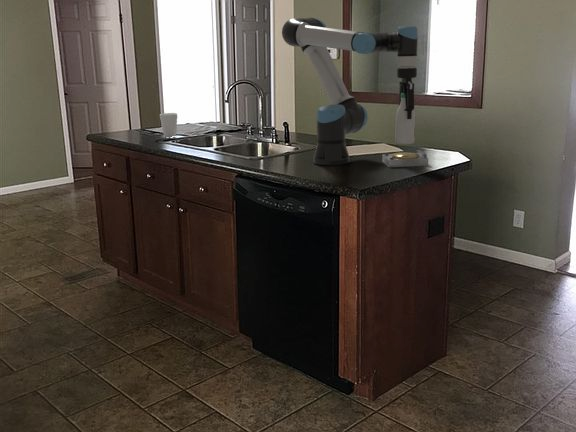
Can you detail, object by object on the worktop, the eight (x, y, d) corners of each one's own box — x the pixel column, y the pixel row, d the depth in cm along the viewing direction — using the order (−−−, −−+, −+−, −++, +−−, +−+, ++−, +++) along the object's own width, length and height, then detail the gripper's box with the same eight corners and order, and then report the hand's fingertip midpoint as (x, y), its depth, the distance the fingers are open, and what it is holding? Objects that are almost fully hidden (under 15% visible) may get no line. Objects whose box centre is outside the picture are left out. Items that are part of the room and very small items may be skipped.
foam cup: (159, 139, 332) (157, 115, 328) (165, 136, 341) (163, 113, 337) (175, 138, 330) (173, 115, 327) (181, 136, 339) (179, 112, 336)
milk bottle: (413, 145, 242) (415, 94, 235) (393, 144, 244) (395, 94, 237) (414, 141, 249) (417, 92, 242) (395, 140, 251) (397, 91, 244)
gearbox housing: (388, 167, 242) (388, 156, 241) (382, 161, 254) (382, 150, 252) (428, 165, 243) (428, 154, 242) (419, 159, 255) (420, 149, 253)
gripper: (423, 68, 228) (422, 128, 234) (409, 66, 248) (408, 122, 254) (404, 68, 228) (402, 129, 234) (391, 66, 247) (390, 123, 254)
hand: (405, 125), depth 244 cm, fingers closed on milk bottle, 7 cm apart
